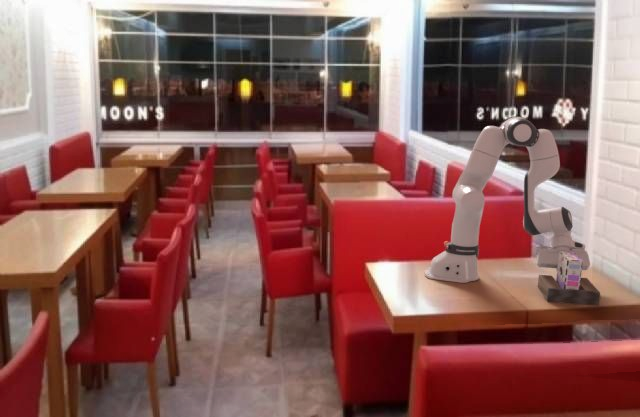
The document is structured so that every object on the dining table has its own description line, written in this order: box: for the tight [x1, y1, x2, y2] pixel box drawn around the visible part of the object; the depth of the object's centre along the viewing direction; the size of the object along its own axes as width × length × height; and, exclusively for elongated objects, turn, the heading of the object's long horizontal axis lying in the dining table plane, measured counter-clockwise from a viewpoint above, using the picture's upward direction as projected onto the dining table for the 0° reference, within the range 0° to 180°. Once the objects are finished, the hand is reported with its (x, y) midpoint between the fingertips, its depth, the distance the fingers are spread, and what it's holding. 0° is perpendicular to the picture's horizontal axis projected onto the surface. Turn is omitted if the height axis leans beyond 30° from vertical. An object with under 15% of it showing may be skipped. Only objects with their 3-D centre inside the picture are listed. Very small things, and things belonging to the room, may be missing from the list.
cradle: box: [537, 274, 601, 306], centre depth 263 cm, size 19×19×5 cm
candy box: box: [555, 251, 583, 290], centre depth 261 cm, size 14×6×16 cm, turn 173°
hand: (564, 277), depth 269 cm, fingers closed
